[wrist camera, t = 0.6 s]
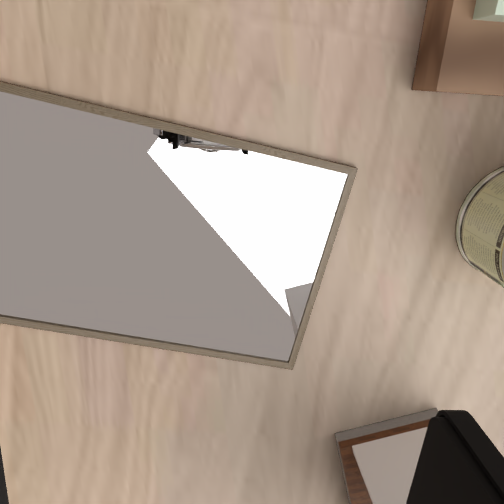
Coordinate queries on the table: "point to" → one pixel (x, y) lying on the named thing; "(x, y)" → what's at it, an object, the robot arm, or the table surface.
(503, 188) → the coffee can
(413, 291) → the table surface
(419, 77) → the brown wooden flat block
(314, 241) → the picture frame
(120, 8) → the table surface
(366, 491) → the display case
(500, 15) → the block
